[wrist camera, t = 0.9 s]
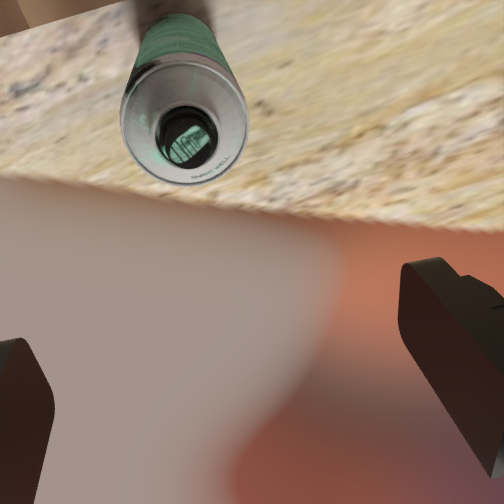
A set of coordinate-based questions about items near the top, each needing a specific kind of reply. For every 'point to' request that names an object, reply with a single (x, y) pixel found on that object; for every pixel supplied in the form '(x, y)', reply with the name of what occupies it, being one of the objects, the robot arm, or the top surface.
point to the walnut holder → (41, 12)
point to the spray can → (183, 105)
